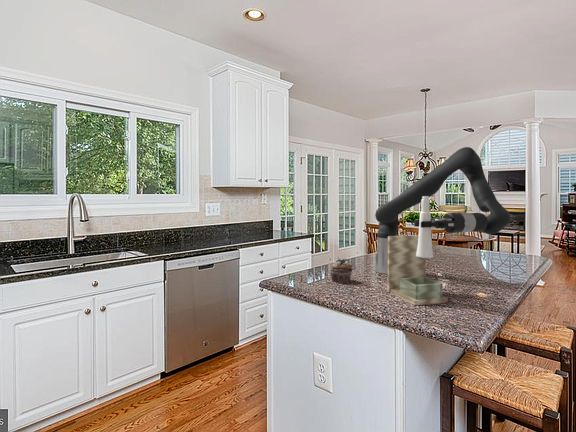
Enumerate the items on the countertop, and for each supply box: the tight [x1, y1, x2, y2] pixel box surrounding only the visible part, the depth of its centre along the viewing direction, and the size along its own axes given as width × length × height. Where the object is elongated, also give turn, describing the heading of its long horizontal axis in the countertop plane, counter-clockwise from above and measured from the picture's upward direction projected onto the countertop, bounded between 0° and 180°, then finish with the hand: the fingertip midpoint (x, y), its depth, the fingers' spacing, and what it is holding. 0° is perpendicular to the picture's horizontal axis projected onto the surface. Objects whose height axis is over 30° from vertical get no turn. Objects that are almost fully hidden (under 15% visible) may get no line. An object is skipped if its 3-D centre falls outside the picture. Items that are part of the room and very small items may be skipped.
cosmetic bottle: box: [416, 196, 434, 259], centre depth 130 cm, size 6×6×22 cm
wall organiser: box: [386, 234, 448, 306], centre depth 134 cm, size 16×18×22 cm
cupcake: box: [329, 258, 353, 284], centre depth 159 cm, size 10×10×10 cm
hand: (418, 223), depth 130 cm, fingers closed on cosmetic bottle, 3 cm apart
